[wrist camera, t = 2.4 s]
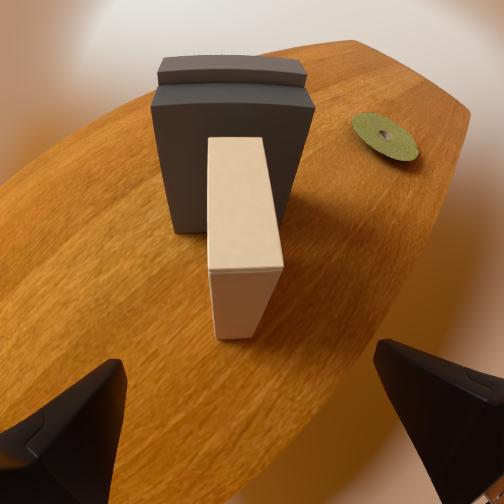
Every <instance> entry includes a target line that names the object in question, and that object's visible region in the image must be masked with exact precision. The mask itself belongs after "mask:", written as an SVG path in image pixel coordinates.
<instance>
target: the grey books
mask: <svg viewBox="0 0 504 504" xmlns="http://www.w3.org/2000/svg"><path fill="white" fill-rule="evenodd" d="M157 76H158V87H157V90H156V93H155V95H154V98H153V101H152V104H151V114H152V120H153V127H154V133H155V139H156V144H157V150H158V156H159V161H160V166H161V172H162V177H163V182H164V187H165V191H166V196H167V201H168V206H169V210H170V215H171V219H172V223H173V228H174V232H175V233H201V232H207V172H208V138H209V137H260V138H262V140H263V145H264V150H265V156H266V161H267V167H268V172H269V178H270V183H271V189H272V195H273V200H274V206H275V212H276V218H277V224H278V230H279V227H280V224H281V221H282V218H283V214H284V211H285V208H286V205H287V201H288V198H289V195H290V192H291V188H292V185H293V182H294V179H295V175H296V172H297V169H298V165H299V162H300V159H301V155H302V152H303V149H304V145H305V142H306V139H307V135H308V132H309V128H310V125H311V122H312V118H313V115H314V111H315V106H314V104H313V102H312V100H311V98H310V96H309V94H308V92H307V90H306V88H304V86H305V82H306V78H307V73H306V71H305V70H304V68H303V66H302V65H301V63H300V62H299V60H295V59H286V58H276V57H263V56H245V55H197V56H179V57H167V58H163V61H162V63H161V65H160V67H159V70H158V72H157Z"/></svg>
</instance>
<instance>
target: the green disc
mask: <svg viewBox="0 0 504 504" xmlns="http://www.w3.org/2000/svg"><path fill="white" fill-rule="evenodd" d="M352 125H353V128H354V130H355V132H356V133H357V134H358V136H360V138H361V139H362V140H364V141H365V142H366V143H367V144H368V145H370V146H371V147H372V148H374V149H375V150H377V151H379V152H380V153H382V154H385V155H386V156H389V157H391V158H394V159H397V160H400V161H411V160H414V159H415V158H416V157H417V156H418V148H417V145H416V143H415V142H414V139H413V138H412V137H411V136H410V135H409V134H408V132H406V131H405V130H404V129H403V128H402V127H401V126H399V125H398V124H396V123H395V122H393V121H392V120H390V119H388V118H386V117H383V116H381V115H378V114H374V113H366V112H365V113H364V112H363V113H358V114H356V115H355V116H353V118H352Z"/></svg>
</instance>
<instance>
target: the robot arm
mask: <svg viewBox="0 0 504 504" xmlns="http://www.w3.org/2000/svg"><path fill="white" fill-rule="evenodd" d="M373 361H374V365H375V368H376V370H377V372H378V375H379V377H380V379H381V382H382V384H383V387H384V389H385V391H386V393H387V396H388V398H389V400H390V401H391V403H392V405H393V407H394V409H395V410H396V412H397V414H398V416H399V418H400V420H401V422H402V423H403V425H404V427H405V429H406V431H407V433H408V435H409V437H410V439H411V441H412V443H413V445H414V446H415V448H416V450H417V452H418V454H419V456H420V458H421V460H422V462H423V464H424V466H425V468H426V470H427V473H428V475H429V477H430V478H431V481H432V483H433V485H434V487H435V489H436V492H437V493H438V496H439V498H440V500H441V502H442V504H473V503H474V502H476V501H477V500H478V499H480V498H481V497H482V496H483V495H485V497H486V498H487V499H488V502H487V503H486V504H504V379H503V378H499V377H496V376H492V375H488V374H485V373H481V372H478V371H475V370H472V369H470V368H466V367H463V366H461V365H458V364H456V363H453V362H450V361H447V360H445V359H442V358H439V357H436V356H434V355H431V354H428V353H426V352H423V351H420V350H418V349H415V348H412V347H410V346H407V345H405V344H402V343H399V342H397V341H394V340H392V339H383V340H380V341H378V343H377V347H376V351H375V354H374V359H373ZM126 391H127V376H126V373H125V370H124V367H123V363H122V361H121V360H120V359H108V360H107V361H105V362H104V363H103V364H101V365H100V366H99V367H97V368H96V369H94V370H93V371H92V372H90V373H89V374H87V375H86V376H85V377H83V378H82V379H81V380H79V381H78V382H76V383H75V384H74V385H72V386H71V387H69V388H68V389H67V390H65V391H64V392H63V393H61V394H60V395H58V396H57V397H56V398H54V399H53V400H51V401H50V402H49V403H47V404H46V405H44V406H43V408H40V409H39V410H37V411H36V412H35V413H33V414H32V415H30V416H29V417H27V418H26V419H24V420H23V421H21V422H19V423H18V424H16V425H14V426H13V427H11V428H9V429H7V430H6V431H4V432H2V433H0V504H108V499H109V493H110V486H111V480H112V474H113V468H114V463H115V458H116V453H117V448H118V443H119V438H120V433H121V429H122V424H123V418H124V409H125V400H126Z"/></svg>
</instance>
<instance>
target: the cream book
mask: <svg viewBox="0 0 504 504" xmlns="http://www.w3.org/2000/svg"><path fill="white" fill-rule="evenodd" d="M207 246H208V275H209V285H210V295H211V304H212V314H213V322H214V331H215V338H216V339H217V340H220V339H240V338H252V337H253V334H254V332H255V330H256V328H257V326H258V324H259V322H260V319H261V317H262V315H263V313H264V311H265V308H266V306H267V304H268V302H269V300H270V298H271V295H272V293H273V291H274V289H275V286H276V284H277V282H278V280H279V277H280V275H281V273H282V270H283V268H284V261H283V255H282V248H281V242H280V236H279V230H278V224H277V218H276V212H275V206H274V200H273V195H272V189H271V183H270V178H269V172H268V167H267V161H266V156H265V150H264V145H263V140H262V138H260V137H209V138H208V172H207Z"/></svg>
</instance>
